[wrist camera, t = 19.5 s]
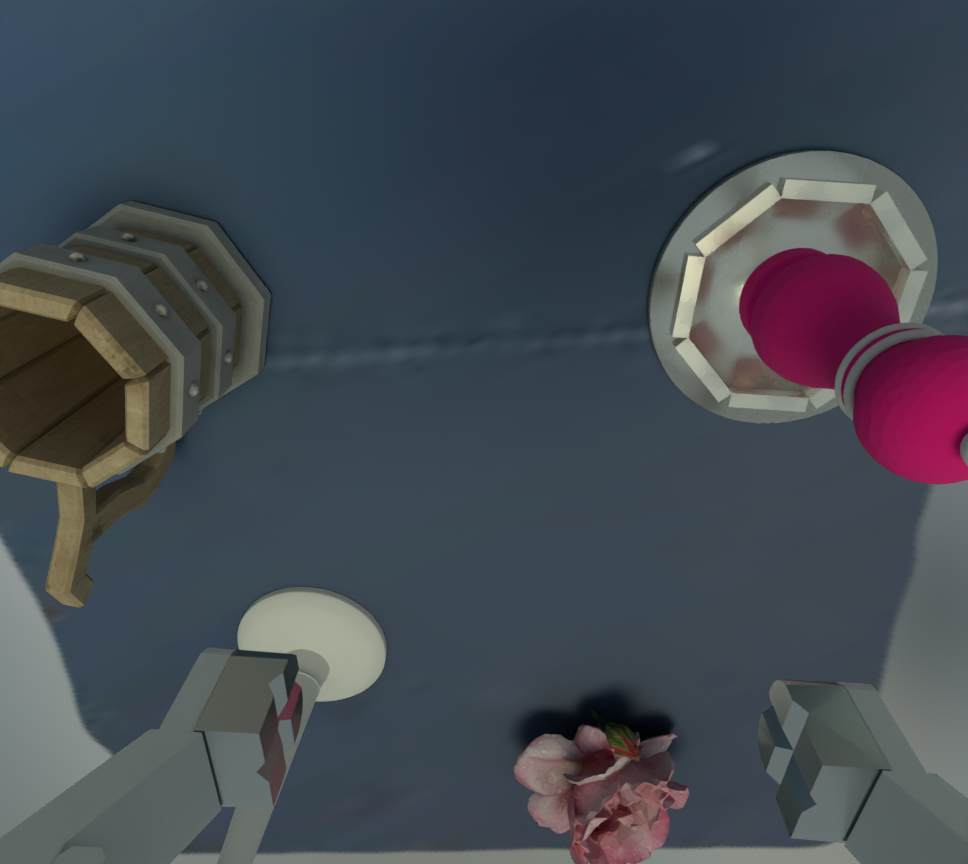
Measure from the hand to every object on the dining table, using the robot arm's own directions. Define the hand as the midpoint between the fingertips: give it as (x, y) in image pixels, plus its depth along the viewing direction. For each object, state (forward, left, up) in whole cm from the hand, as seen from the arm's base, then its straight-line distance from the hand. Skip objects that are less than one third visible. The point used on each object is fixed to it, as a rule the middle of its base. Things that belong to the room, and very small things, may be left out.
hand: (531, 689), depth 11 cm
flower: (+45, +11, -34) cm, 57 cm away
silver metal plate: (+1, +17, -33) cm, 37 cm away
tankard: (+9, -23, -34) cm, 42 cm away
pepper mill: (+1, +17, -33) cm, 37 cm away
